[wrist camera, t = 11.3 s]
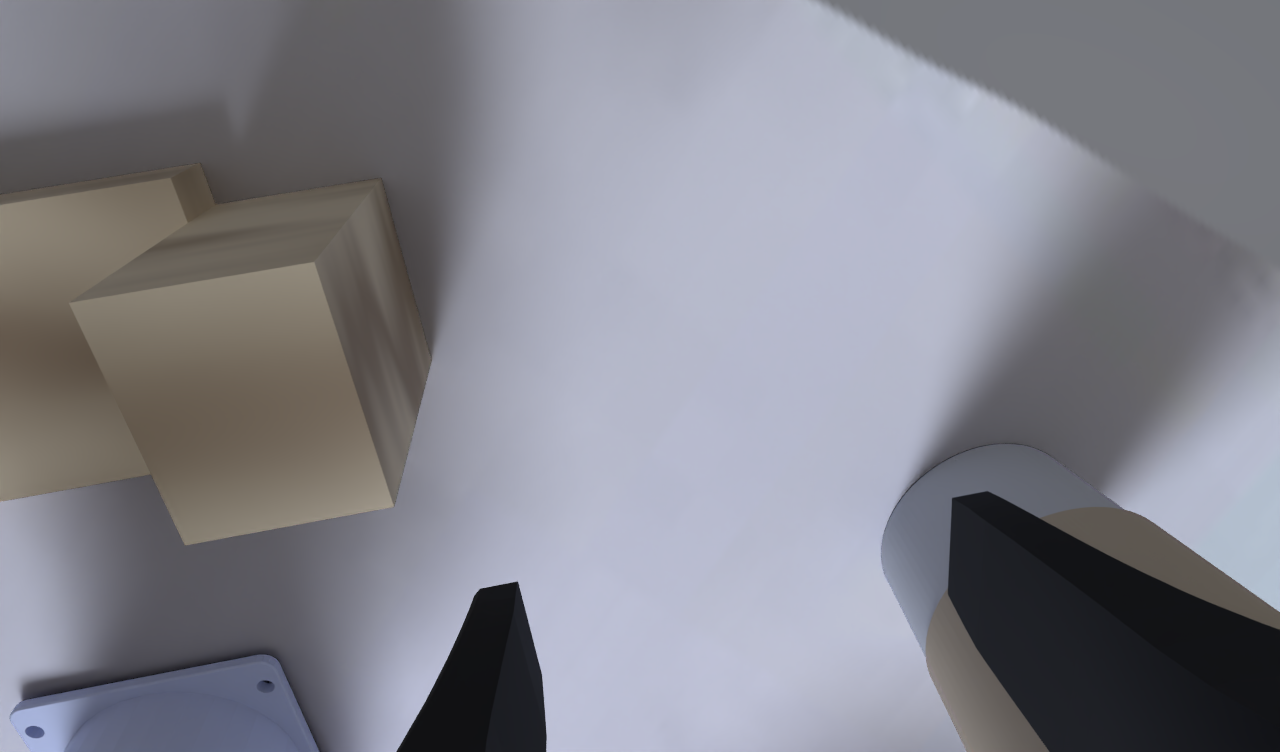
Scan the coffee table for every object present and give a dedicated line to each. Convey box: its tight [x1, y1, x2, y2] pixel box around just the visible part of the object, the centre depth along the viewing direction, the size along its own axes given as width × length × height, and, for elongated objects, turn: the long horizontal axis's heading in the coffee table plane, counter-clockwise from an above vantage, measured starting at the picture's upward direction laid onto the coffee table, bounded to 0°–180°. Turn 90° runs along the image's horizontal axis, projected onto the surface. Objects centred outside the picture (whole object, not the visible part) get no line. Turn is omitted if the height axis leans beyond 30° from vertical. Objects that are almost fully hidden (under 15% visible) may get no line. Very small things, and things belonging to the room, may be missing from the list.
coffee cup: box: [881, 444, 1280, 752], centre depth 20 cm, size 9×9×15 cm
